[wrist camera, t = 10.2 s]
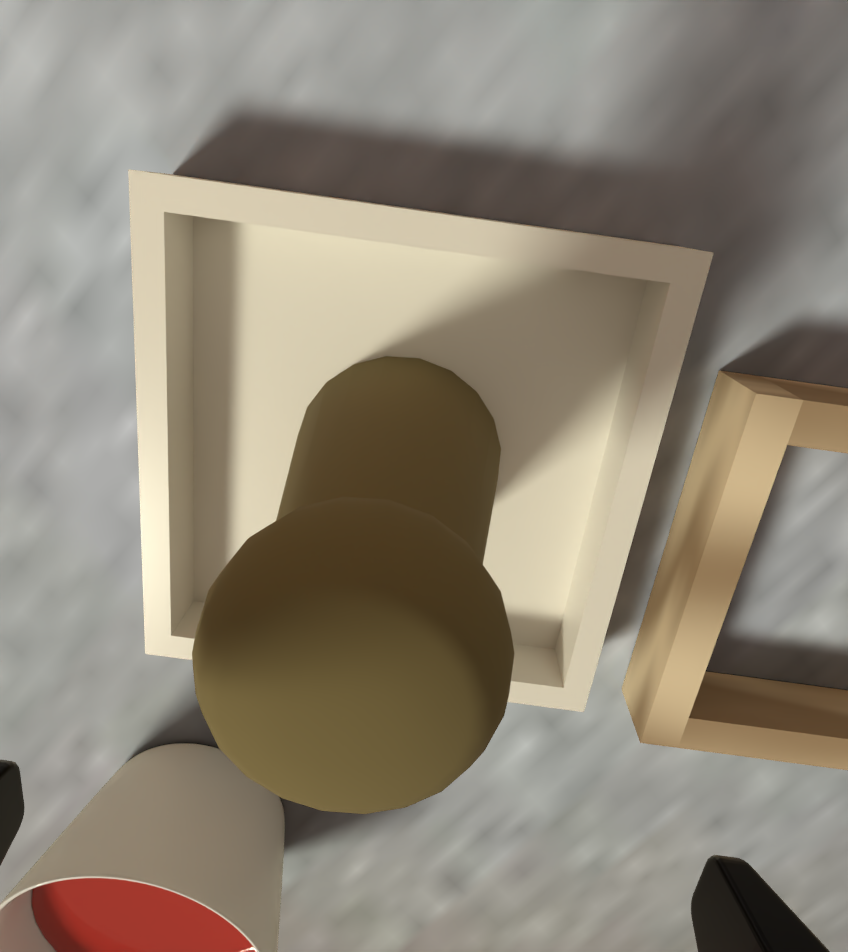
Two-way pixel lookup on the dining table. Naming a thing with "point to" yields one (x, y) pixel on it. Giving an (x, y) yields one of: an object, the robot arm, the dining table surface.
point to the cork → (365, 601)
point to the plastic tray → (413, 336)
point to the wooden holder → (732, 585)
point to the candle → (158, 864)
